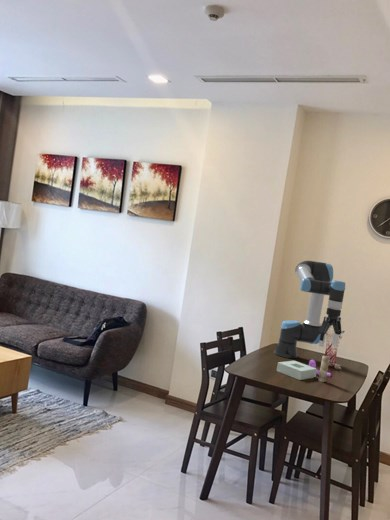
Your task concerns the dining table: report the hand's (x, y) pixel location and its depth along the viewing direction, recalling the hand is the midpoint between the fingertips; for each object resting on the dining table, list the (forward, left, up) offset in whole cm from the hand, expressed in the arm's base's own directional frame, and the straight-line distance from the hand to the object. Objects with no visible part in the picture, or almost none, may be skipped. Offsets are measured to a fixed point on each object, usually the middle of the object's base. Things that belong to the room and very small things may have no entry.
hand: (327, 346), depth 267 cm
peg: (0, 0, -20) cm, 20 cm away
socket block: (+5, -14, -20) cm, 25 cm away
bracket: (-13, -10, -21) cm, 26 cm away
